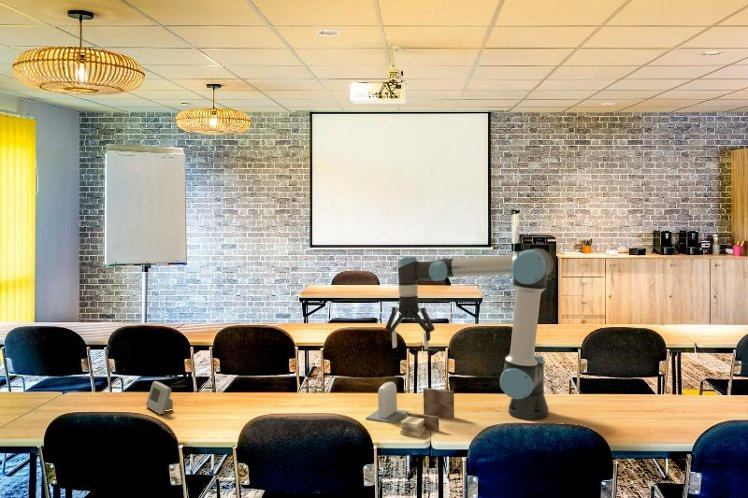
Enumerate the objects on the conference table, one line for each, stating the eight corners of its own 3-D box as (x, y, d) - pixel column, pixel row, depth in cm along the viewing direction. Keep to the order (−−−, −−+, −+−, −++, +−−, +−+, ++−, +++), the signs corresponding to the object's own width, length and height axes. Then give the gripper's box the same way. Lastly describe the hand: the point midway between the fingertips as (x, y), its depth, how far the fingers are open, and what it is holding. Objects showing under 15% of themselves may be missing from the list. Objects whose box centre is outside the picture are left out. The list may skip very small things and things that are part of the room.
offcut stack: (425, 430, 222) (425, 418, 221) (419, 437, 215) (419, 424, 215) (406, 428, 224) (406, 416, 224) (399, 435, 218) (399, 422, 217)
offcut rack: (454, 416, 235) (453, 391, 235) (438, 431, 220) (437, 403, 219) (425, 413, 241) (424, 387, 240) (407, 426, 225) (407, 400, 225)
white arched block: (387, 419, 232) (386, 386, 232) (376, 417, 234) (376, 385, 234) (398, 411, 242) (397, 380, 241) (388, 409, 244) (388, 379, 243)
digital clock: (145, 406, 257) (144, 381, 256) (167, 403, 261) (166, 378, 260) (151, 417, 242) (150, 391, 242) (175, 413, 247) (174, 387, 246)
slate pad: (409, 412, 242) (409, 411, 241) (394, 423, 229) (394, 421, 229) (381, 408, 247) (381, 407, 247) (365, 419, 234) (365, 417, 234)
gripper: (441, 294, 242) (443, 347, 243) (383, 293, 252) (385, 344, 253) (435, 296, 235) (437, 351, 236) (376, 295, 245) (378, 348, 246)
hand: (410, 348), depth 244 cm, fingers open, 13 cm apart
